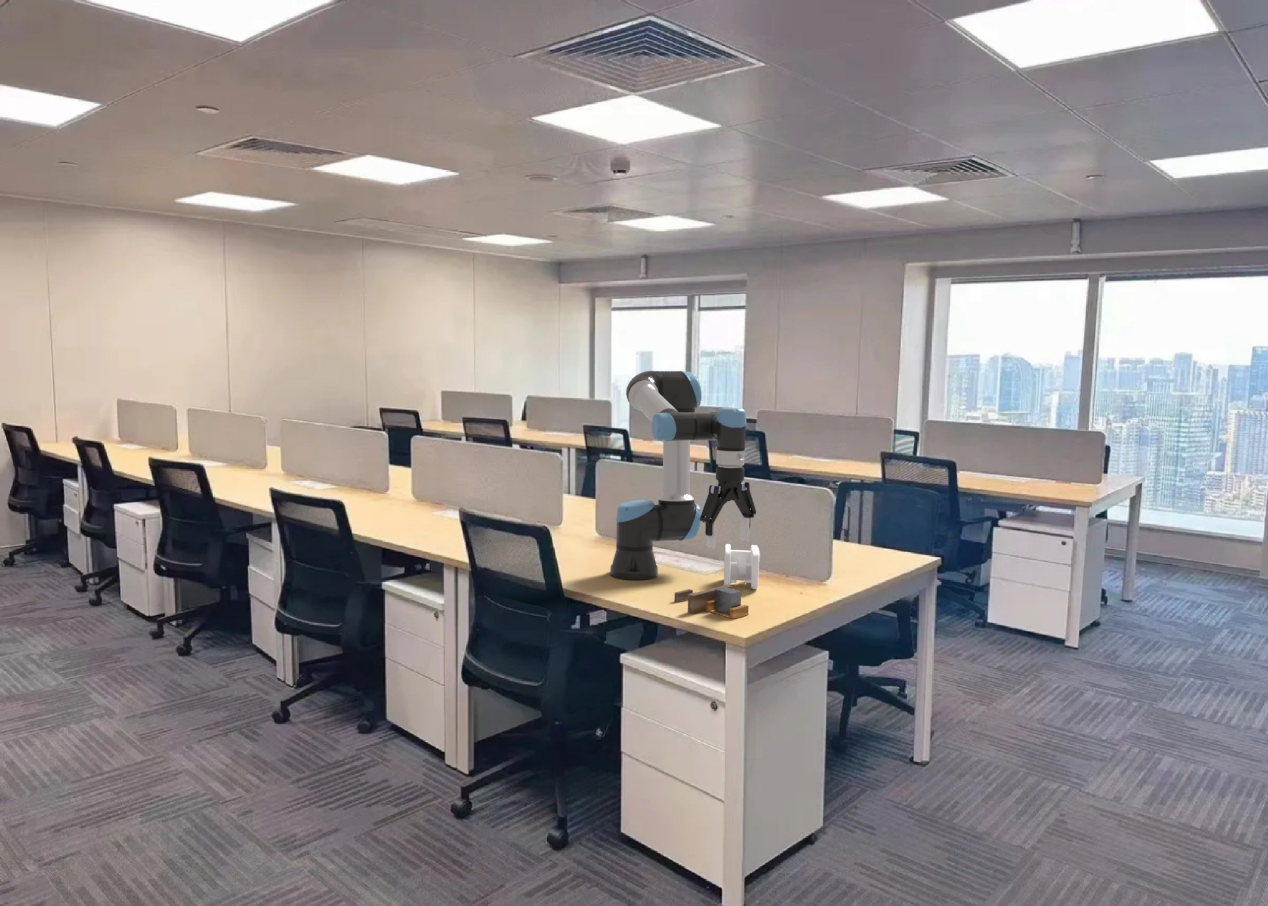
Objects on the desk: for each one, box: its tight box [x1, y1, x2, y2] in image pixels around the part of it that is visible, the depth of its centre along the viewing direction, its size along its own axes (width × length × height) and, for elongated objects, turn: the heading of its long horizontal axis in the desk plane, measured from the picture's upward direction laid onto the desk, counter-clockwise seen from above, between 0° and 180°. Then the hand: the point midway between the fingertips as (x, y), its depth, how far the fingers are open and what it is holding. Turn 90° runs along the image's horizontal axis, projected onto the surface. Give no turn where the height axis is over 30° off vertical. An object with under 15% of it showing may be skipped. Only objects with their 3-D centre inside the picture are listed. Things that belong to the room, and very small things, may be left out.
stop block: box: [714, 587, 742, 615], centre depth 230 cm, size 6×4×6 cm, turn 42°
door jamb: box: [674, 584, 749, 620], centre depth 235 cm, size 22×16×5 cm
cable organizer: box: [723, 543, 761, 590], centre depth 260 cm, size 15×11×12 cm
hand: (727, 544), depth 230 cm, fingers open, 13 cm apart
